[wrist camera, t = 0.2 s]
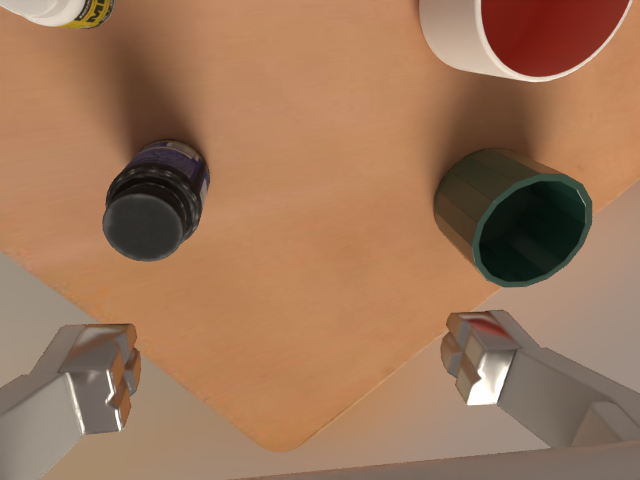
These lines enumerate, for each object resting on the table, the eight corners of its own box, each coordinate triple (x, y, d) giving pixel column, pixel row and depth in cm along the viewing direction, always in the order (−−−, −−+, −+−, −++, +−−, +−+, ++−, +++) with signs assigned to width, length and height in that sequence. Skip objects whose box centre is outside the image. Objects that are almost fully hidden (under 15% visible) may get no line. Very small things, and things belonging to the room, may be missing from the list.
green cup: (445, 146, 37) (490, 172, 30) (545, 149, 38) (611, 175, 31) (424, 245, 41) (460, 288, 34) (515, 244, 43) (567, 285, 36)
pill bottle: (119, 159, 33) (63, 211, 23) (182, 123, 33) (153, 161, 23) (165, 219, 36) (133, 287, 26) (224, 186, 36) (214, 244, 26)
